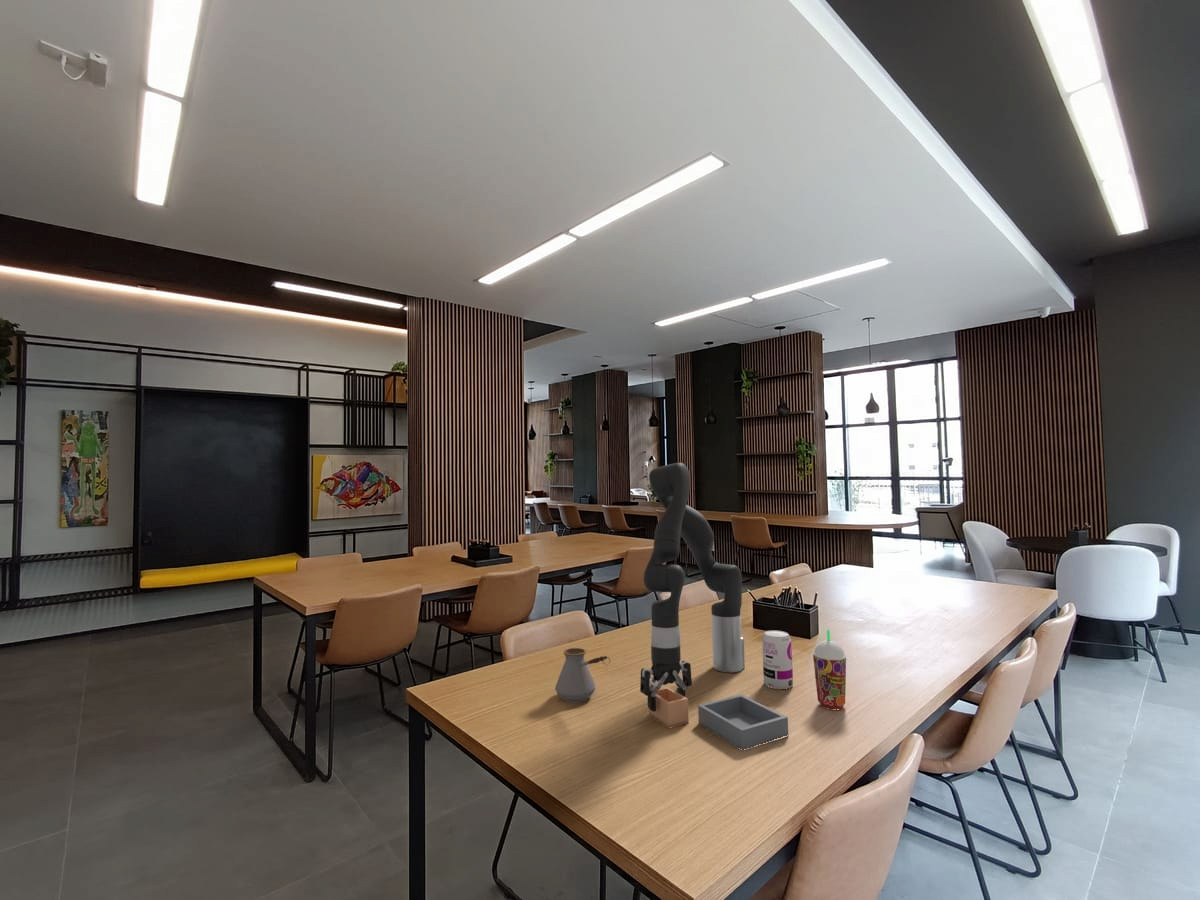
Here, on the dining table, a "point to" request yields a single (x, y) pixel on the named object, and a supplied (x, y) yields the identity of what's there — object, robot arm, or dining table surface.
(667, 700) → the terracotta crate
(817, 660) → the smoothie
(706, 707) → the grey crate
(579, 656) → the coffee pot
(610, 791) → the dining table surface
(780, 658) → the supplement can
